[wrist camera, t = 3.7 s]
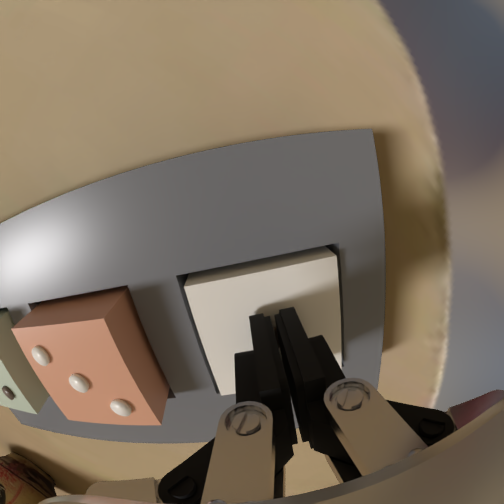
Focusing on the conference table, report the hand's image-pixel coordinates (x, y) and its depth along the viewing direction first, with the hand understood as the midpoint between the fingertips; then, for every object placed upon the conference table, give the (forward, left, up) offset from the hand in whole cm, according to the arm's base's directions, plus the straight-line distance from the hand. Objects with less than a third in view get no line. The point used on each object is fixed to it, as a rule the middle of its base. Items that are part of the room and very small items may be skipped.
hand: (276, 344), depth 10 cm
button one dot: (0, 0, -4) cm, 4 cm away
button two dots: (0, -16, -2) cm, 16 cm away
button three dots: (0, -8, -2) cm, 8 cm away
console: (0, -8, -5) cm, 9 cm away
